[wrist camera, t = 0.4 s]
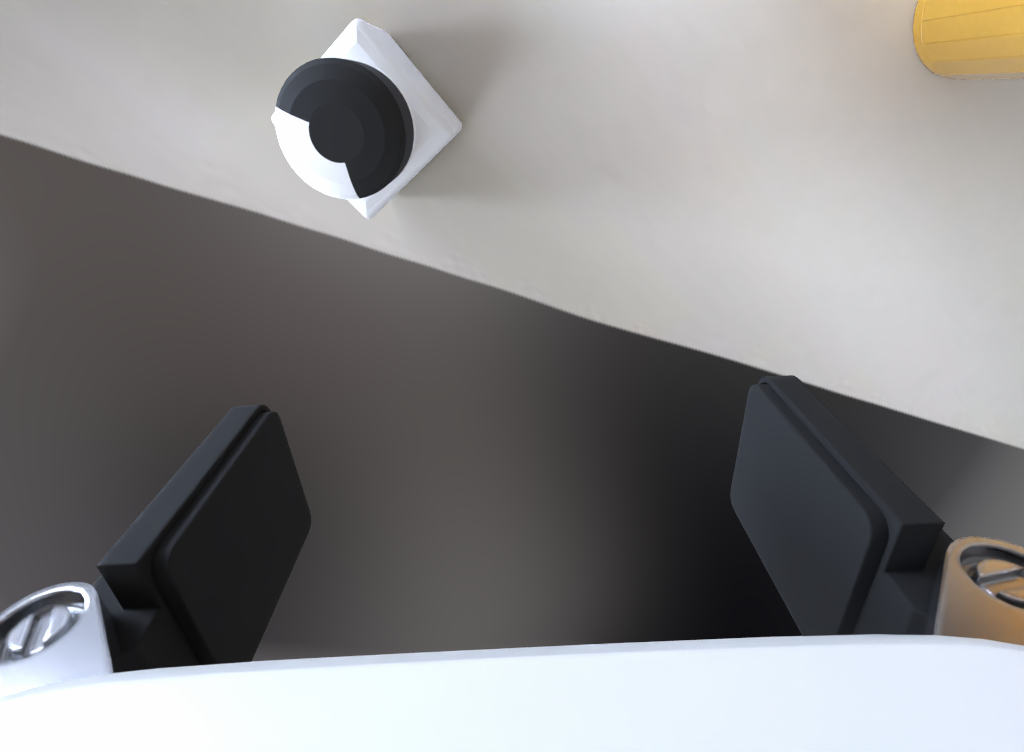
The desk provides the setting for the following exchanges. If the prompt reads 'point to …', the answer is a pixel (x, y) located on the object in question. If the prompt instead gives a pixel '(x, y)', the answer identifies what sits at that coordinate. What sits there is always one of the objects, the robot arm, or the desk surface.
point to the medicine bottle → (361, 119)
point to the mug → (971, 38)
